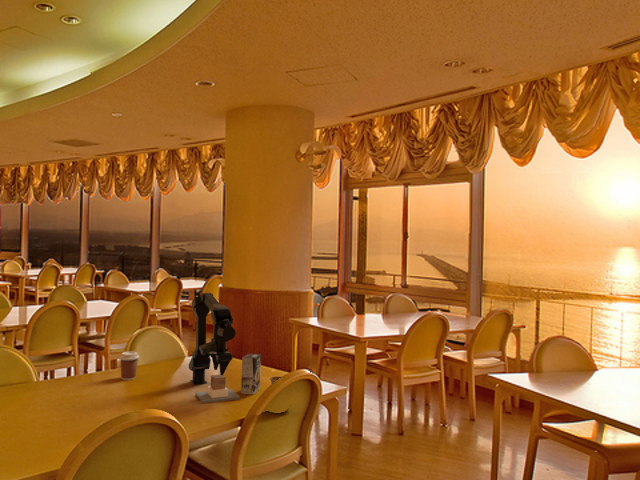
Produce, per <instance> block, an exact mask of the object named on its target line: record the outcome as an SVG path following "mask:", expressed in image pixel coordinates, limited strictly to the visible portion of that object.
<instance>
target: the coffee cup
mask: <svg viewBox="0 0 640 480" xmlns="http://www.w3.org/2000/svg"><path fill="white" fill-rule="evenodd" d="M139 358H140V355H139V354H138V352H137V351H123V352H121V355H120V356H118V359H119V360H120V375H121V377H120V378H121V380H123V381H130V380H131V381H132V380H135V379H136V376H137V370H138V368H137V367H138V361H139Z"/></svg>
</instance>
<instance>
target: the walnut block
mask: <svg viewBox="0 0 640 480" xmlns="http://www.w3.org/2000/svg"><path fill="white" fill-rule="evenodd" d="M226 381H227V379H226V376H225V375H224V374H223V375H220V373H219V374H211V375H210V386H211V388H212V389H213V390H218V389H225V387H226Z"/></svg>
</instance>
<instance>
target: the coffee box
mask: <svg viewBox="0 0 640 480" xmlns="http://www.w3.org/2000/svg"><path fill="white" fill-rule="evenodd" d="M261 369H262V354H260V353H248V354H246V355H244V356H242V358H241V375H240V376H241V379H240V394H244V395H253V396H254V395H255V394H257V392H259V391H260V390H261V373H262V372H261ZM258 390H259V391H258Z"/></svg>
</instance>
